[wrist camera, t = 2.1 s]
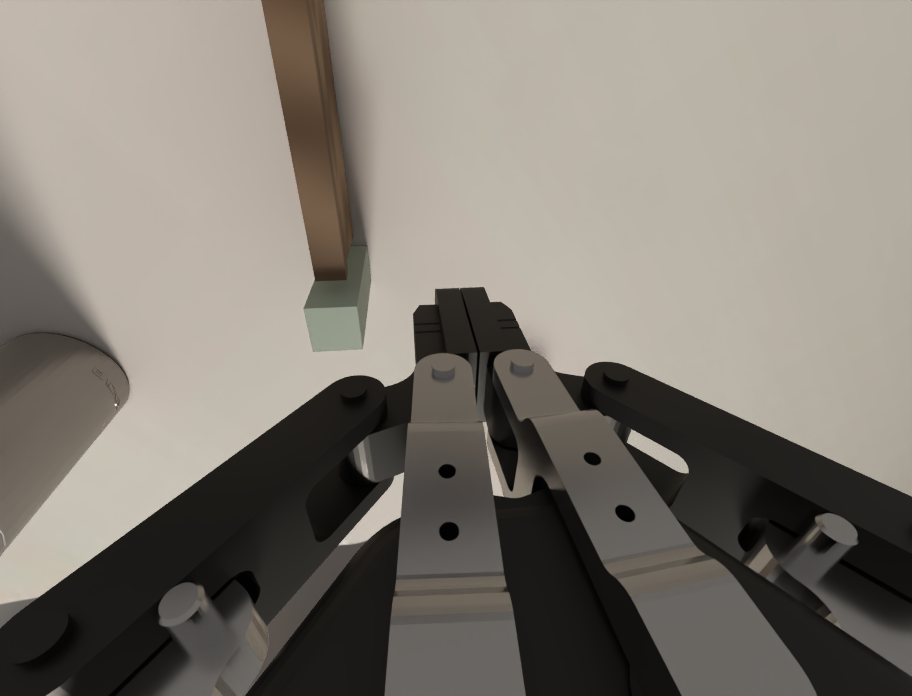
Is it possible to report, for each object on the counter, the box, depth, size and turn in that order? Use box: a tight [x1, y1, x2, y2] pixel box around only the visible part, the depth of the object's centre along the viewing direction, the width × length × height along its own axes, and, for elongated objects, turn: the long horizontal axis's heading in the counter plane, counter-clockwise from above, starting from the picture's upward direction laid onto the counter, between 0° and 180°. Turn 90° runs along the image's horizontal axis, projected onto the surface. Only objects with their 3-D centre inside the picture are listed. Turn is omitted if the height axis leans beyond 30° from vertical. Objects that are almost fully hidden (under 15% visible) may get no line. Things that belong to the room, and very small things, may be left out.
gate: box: [261, 0, 353, 281], centre depth 22 cm, size 17×2×8 cm, turn 178°
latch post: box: [304, 246, 371, 352], centre depth 28 cm, size 3×3×10 cm
